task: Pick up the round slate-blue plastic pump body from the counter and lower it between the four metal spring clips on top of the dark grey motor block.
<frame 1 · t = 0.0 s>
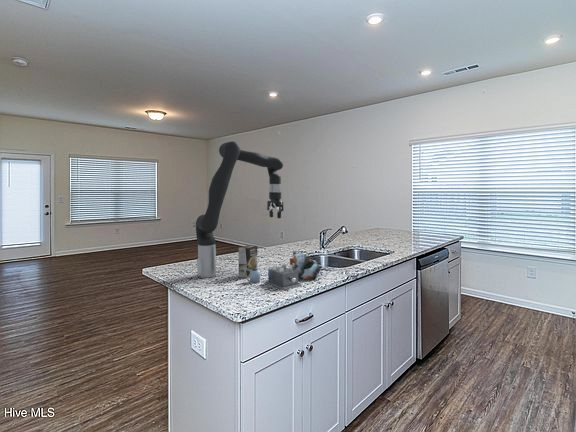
hand: (275, 217, 201), 29 cm above the counter, tool pointing down, fingers open, 8 cm apart
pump: (254, 281, 166), on the counter
coffee box: (248, 275, 177), on the counter
lucky cat figurine: (305, 277, 174), on the counter
motor: (283, 283, 162), on the counter
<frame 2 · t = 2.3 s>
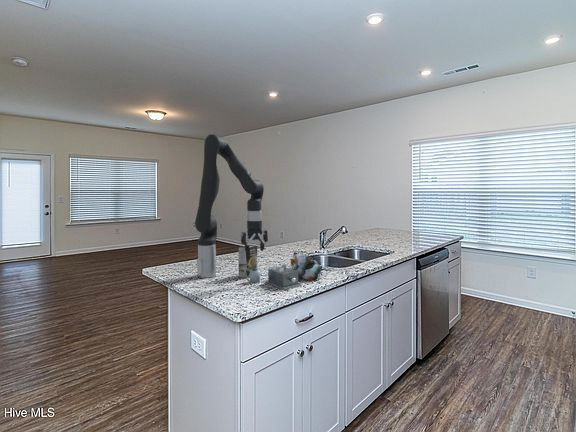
hand: (254, 251, 164), 16 cm above the counter, tool pointing down, fingers open, 8 cm apart
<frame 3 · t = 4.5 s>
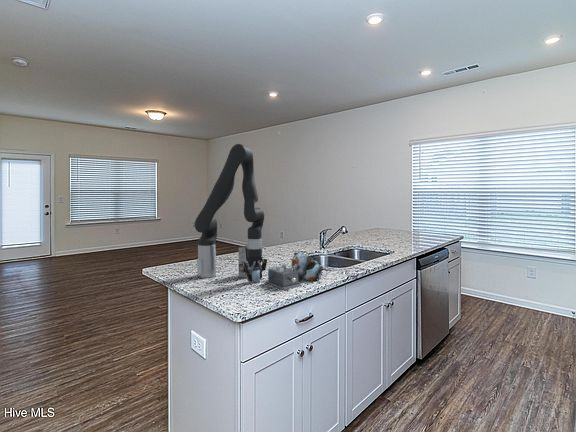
hand: (254, 279, 166), 1 cm above the counter, tool pointing down, fingers closed on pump, 5 cm apart
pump: (254, 281, 166), on the counter, touching gripper
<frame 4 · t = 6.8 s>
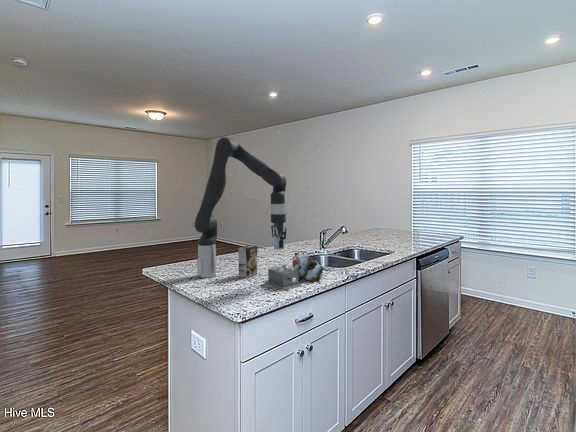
hand: (279, 246, 161), 18 cm above the counter, tool pointing down, fingers closed on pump, 5 cm apart
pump: (279, 248, 161), point 18 cm above the counter, touching gripper
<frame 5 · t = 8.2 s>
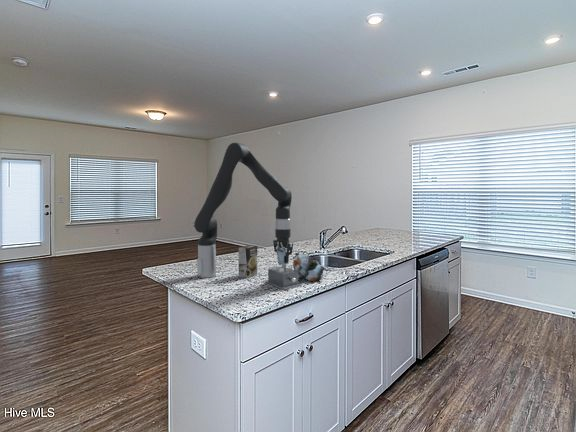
hand: (282, 261, 161), 11 cm above the counter, tool pointing down, fingers closed on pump, 5 cm apart
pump: (283, 263, 161), point 10 cm above the counter, touching gripper
when the fingers open (10 cm above the counter, at t = 9.3 s): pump drops 2 cm, resting on motor.
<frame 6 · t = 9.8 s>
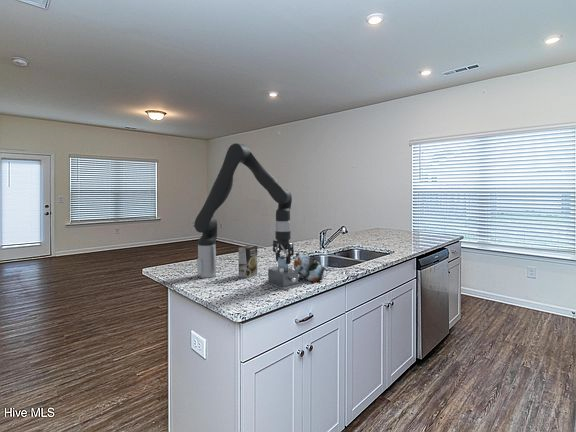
hand: (282, 262, 161), 11 cm above the counter, tool pointing down, fingers open, 8 cm apart
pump: (283, 270, 161), point 7 cm above the counter, touching motor
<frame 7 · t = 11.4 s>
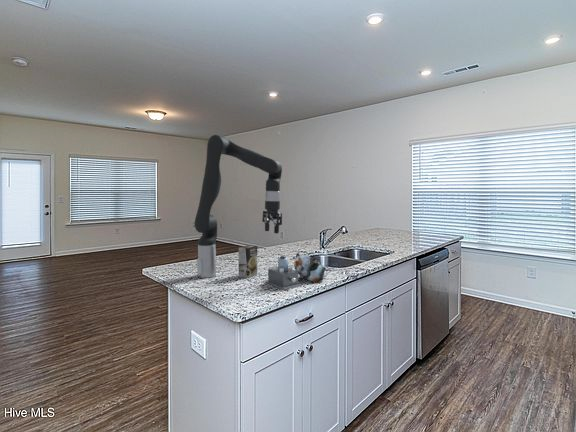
hand: (271, 232, 164), 25 cm above the counter, tool pointing down, fingers open, 8 cm apart
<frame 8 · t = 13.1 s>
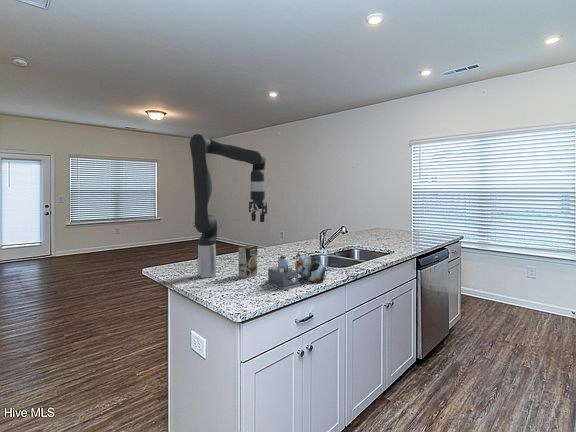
hand: (257, 221, 170), 30 cm above the counter, tool pointing down, fingers open, 8 cm apart
at the end: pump 0.2 cm off-centre on the motor, point 7.0 cm above the motor's base; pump tilted 0°; the gripper is holding nothing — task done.
